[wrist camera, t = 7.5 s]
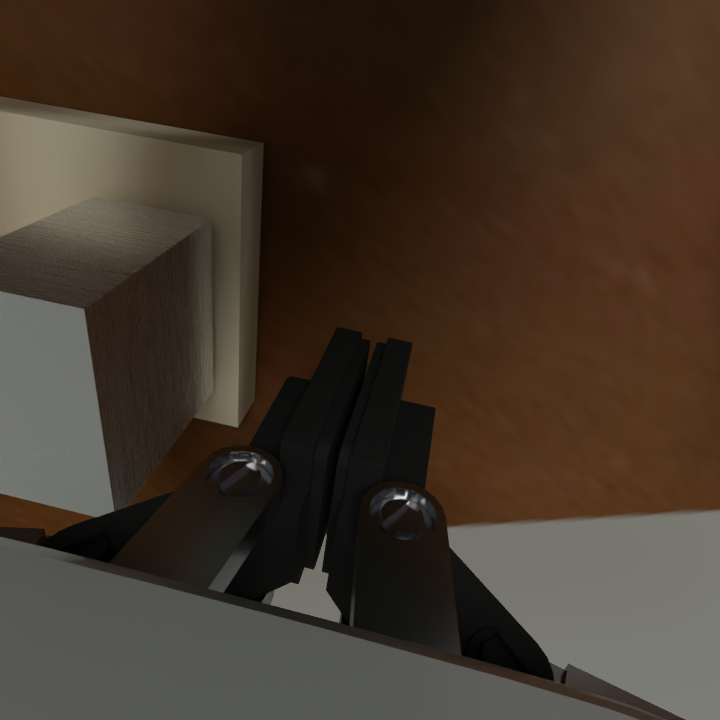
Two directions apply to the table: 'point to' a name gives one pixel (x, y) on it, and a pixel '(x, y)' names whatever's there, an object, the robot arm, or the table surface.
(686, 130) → the table surface
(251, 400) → the board
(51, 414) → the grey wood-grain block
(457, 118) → the table surface
